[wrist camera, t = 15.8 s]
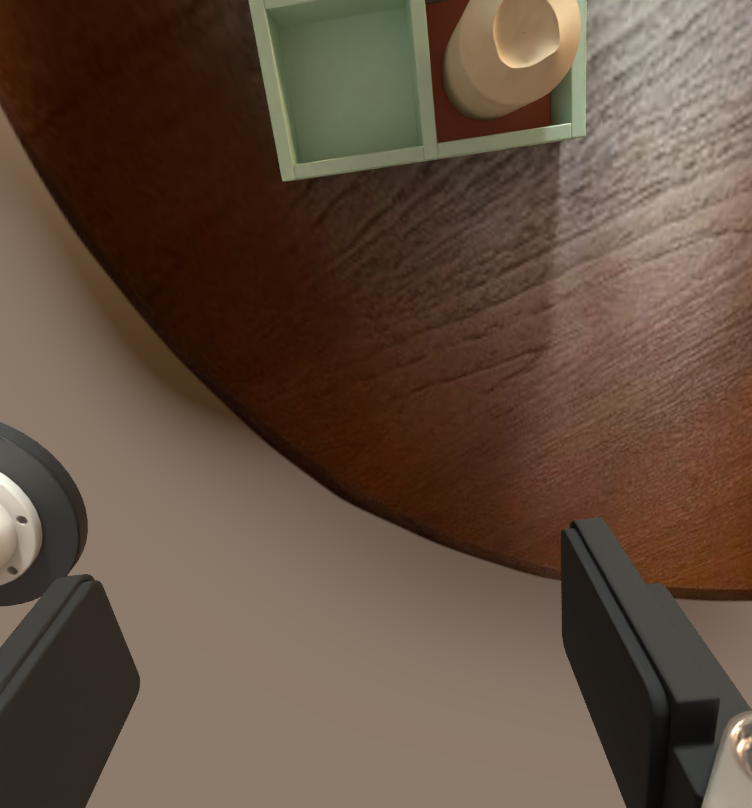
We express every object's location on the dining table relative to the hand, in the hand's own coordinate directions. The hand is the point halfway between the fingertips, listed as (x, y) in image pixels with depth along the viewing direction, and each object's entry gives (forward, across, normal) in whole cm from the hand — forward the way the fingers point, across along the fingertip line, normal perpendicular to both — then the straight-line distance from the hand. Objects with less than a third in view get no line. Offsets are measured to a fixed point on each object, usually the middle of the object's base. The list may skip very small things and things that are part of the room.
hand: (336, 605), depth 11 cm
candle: (+30, -9, -13) cm, 34 cm away
